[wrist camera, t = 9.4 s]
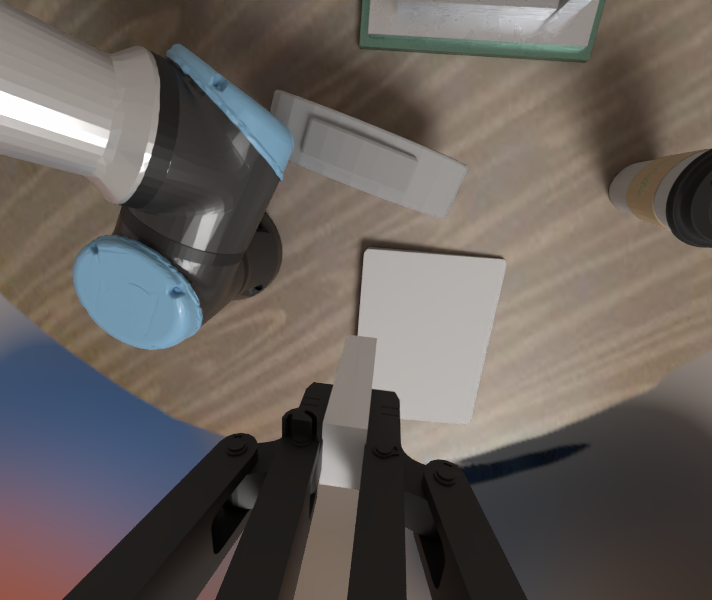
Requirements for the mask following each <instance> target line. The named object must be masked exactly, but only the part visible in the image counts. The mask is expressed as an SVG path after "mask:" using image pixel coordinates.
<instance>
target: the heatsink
mask: <svg viewBox="0 0 712 600" xmlns="http://www.w3.org/2000/svg"><path fill="white" fill-rule="evenodd" d="M604 3H605V0H362V14H361V29H360V44H359V47H360V49H372V50H388V51H405V52H421V53H437V54H453V55H470V56H486V57H502V58H518V59H535V60H551V61H567V62H583V63H585V62H587V61H589V59H590V55H591V52H592V48H593V44H594V40H595V37H596V33H597V29H598V26H599V22H600V18H601V15H602V11H603V7H604Z"/></svg>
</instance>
